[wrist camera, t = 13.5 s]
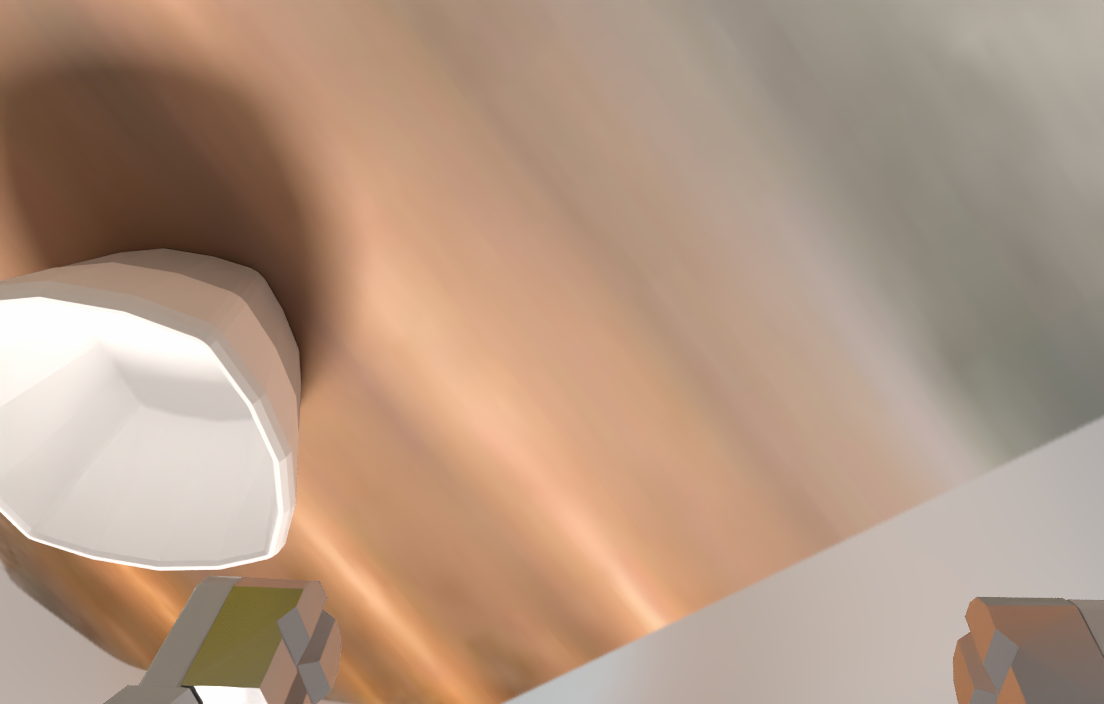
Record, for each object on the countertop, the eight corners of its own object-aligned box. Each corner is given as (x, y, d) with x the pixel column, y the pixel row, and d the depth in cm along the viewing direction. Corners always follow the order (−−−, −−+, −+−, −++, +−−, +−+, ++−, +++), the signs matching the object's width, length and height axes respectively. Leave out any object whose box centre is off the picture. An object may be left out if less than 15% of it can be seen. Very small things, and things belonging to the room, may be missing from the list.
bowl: (320, 203, 40) (240, 300, 33) (370, 466, 50) (318, 587, 43) (-11, 191, 42) (-160, 281, 34) (102, 448, 52) (7, 562, 44)
